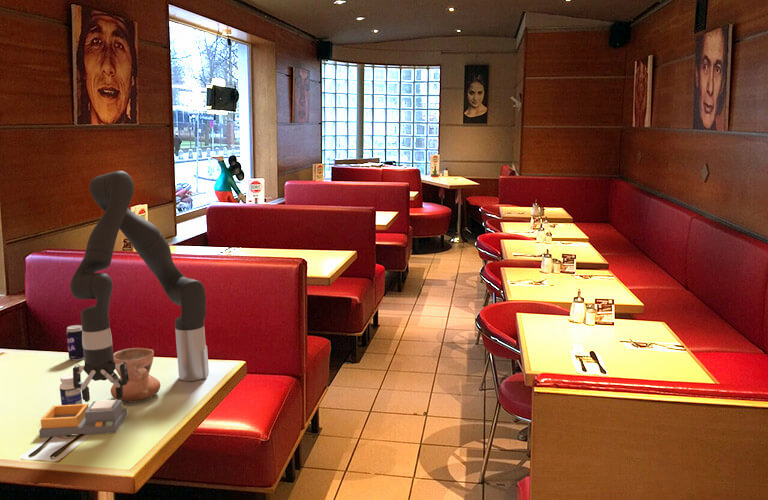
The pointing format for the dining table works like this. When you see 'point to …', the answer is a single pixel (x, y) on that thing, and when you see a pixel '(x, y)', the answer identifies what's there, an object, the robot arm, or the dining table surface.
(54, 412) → the grey and orange tray
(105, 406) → the button
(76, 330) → the beverage can
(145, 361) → the ceramic jug
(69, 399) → the pill bottle
